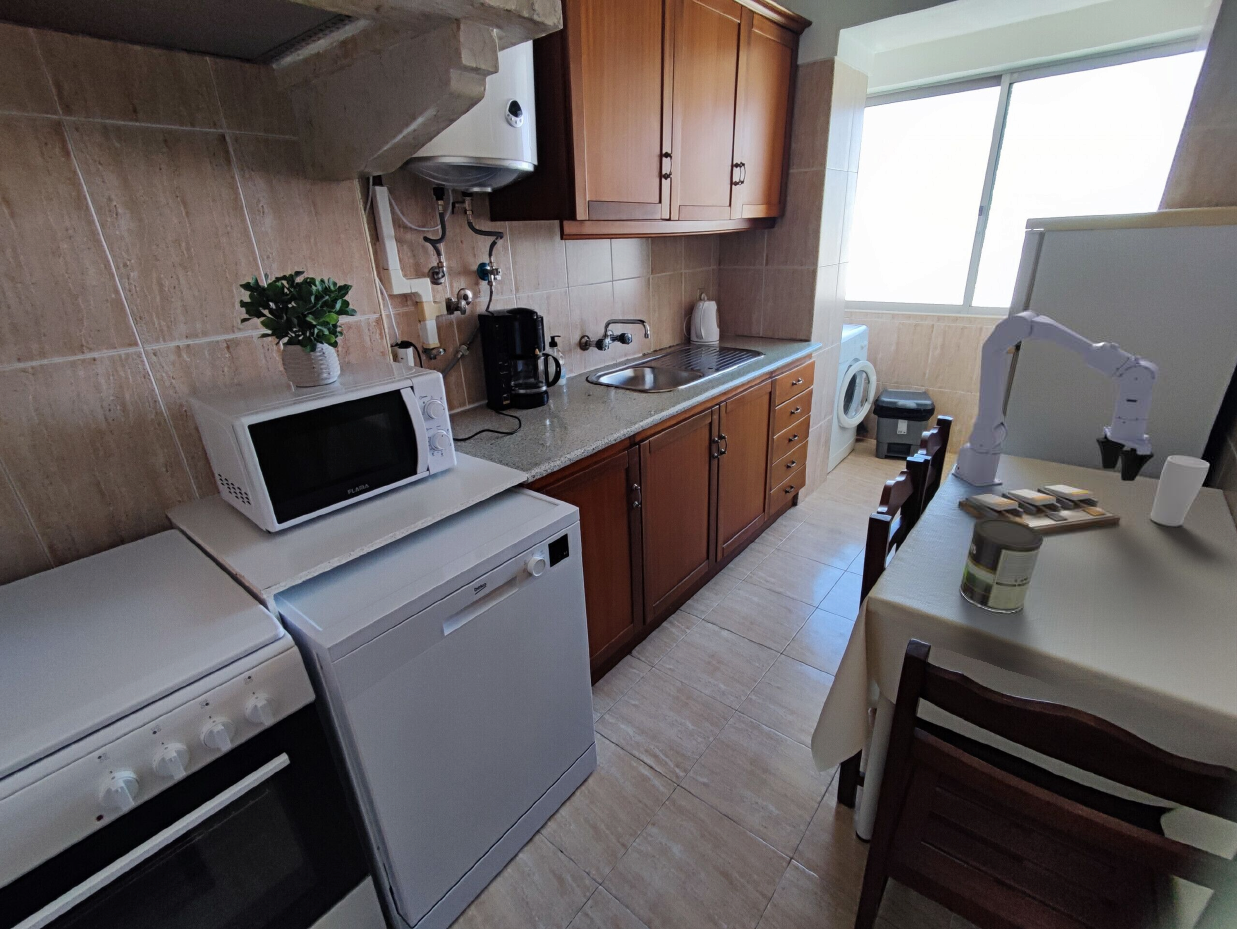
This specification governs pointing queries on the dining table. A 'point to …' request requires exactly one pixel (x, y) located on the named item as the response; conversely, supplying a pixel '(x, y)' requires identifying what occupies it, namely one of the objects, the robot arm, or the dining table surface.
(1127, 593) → the dining table surface
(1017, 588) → the coffee can
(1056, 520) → the switch board
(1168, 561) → the dining table surface
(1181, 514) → the drinking glass
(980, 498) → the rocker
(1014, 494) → the rocker middle
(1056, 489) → the rocker
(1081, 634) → the dining table surface
